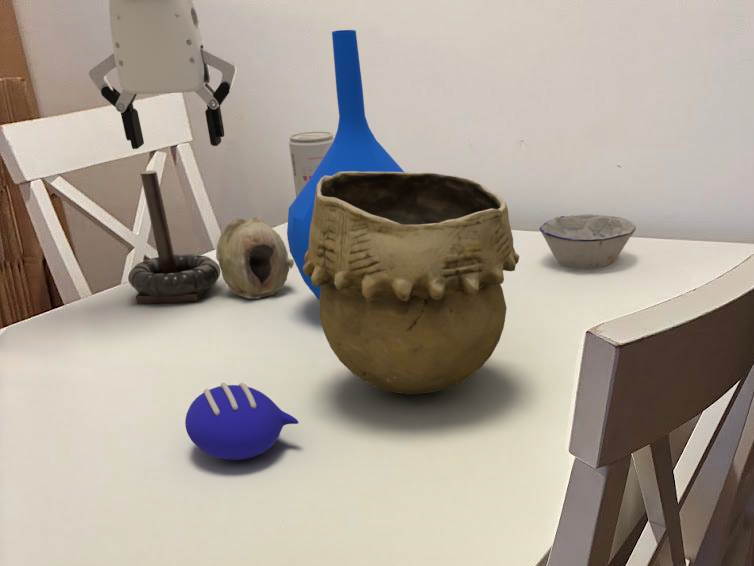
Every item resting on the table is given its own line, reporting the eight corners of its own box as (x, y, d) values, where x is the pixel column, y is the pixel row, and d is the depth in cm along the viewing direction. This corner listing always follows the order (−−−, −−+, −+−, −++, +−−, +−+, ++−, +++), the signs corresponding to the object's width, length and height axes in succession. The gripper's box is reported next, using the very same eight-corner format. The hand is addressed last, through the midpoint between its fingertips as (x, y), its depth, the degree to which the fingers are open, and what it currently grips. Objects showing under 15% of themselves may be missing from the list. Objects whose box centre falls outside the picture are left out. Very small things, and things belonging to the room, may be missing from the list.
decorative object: (288, 393, 85) (174, 423, 85) (307, 454, 89) (197, 484, 88) (280, 356, 94) (177, 383, 93) (298, 413, 97) (198, 439, 96)
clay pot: (519, 347, 111) (517, 154, 99) (521, 427, 94) (519, 204, 82) (335, 352, 112) (312, 160, 100) (304, 432, 95) (272, 212, 83)
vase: (441, 328, 117) (424, 36, 100) (288, 333, 118) (244, 43, 100) (444, 281, 132) (430, 20, 115) (308, 286, 132) (273, 26, 115)
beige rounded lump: (230, 313, 132) (190, 241, 127) (268, 285, 137) (231, 214, 132) (276, 301, 126) (236, 225, 121) (315, 272, 131) (278, 198, 126)
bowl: (522, 266, 136) (522, 229, 133) (568, 244, 145) (568, 209, 142) (605, 279, 130) (607, 241, 127) (648, 255, 139) (651, 218, 136)
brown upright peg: (136, 304, 129) (107, 180, 120) (151, 285, 136) (125, 166, 127) (197, 301, 129) (172, 177, 120) (209, 283, 135) (187, 164, 127)
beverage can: (304, 240, 152) (290, 132, 143) (347, 238, 152) (335, 130, 143) (301, 252, 146) (286, 140, 138) (345, 249, 147) (333, 138, 138)
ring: (122, 301, 127) (116, 279, 125) (144, 274, 136) (139, 253, 135) (211, 297, 127) (207, 275, 125) (228, 271, 136) (224, 250, 135)
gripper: (228, -26, 115) (252, 137, 125) (79, -20, 115) (115, 142, 125) (215, -22, 109) (242, 148, 119) (58, -17, 109) (98, 154, 119)
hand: (177, 145), depth 122 cm, fingers open, 9 cm apart
